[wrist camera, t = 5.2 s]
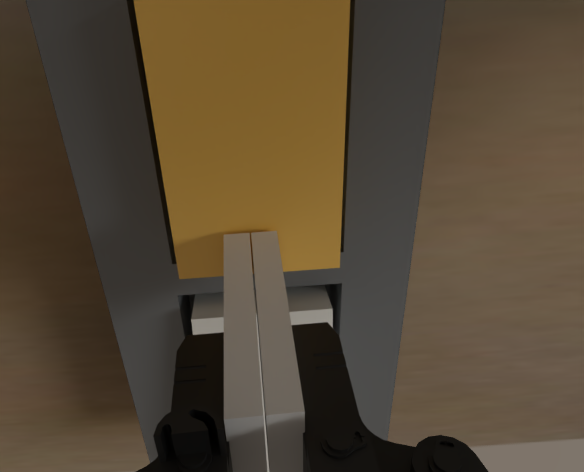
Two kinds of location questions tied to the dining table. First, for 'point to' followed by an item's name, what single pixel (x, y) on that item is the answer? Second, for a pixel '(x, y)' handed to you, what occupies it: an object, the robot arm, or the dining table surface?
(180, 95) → the rocker amber
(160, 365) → the power strip
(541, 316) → the dining table surface
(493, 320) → the dining table surface
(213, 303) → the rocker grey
